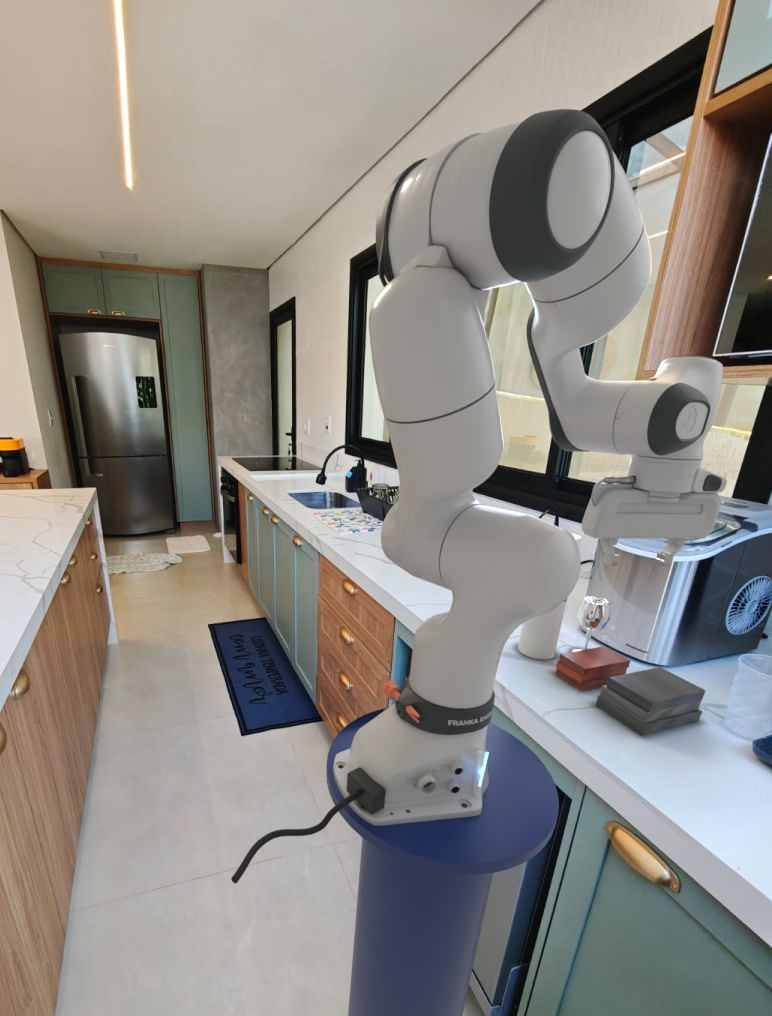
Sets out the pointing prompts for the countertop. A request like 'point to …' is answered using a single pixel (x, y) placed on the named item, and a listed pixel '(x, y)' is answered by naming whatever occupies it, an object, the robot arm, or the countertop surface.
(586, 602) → the wineglass
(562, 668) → the rust books
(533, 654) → the cylindrical container
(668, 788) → the countertop surface
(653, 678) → the grey books
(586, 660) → the rust booklet
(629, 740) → the countertop surface
